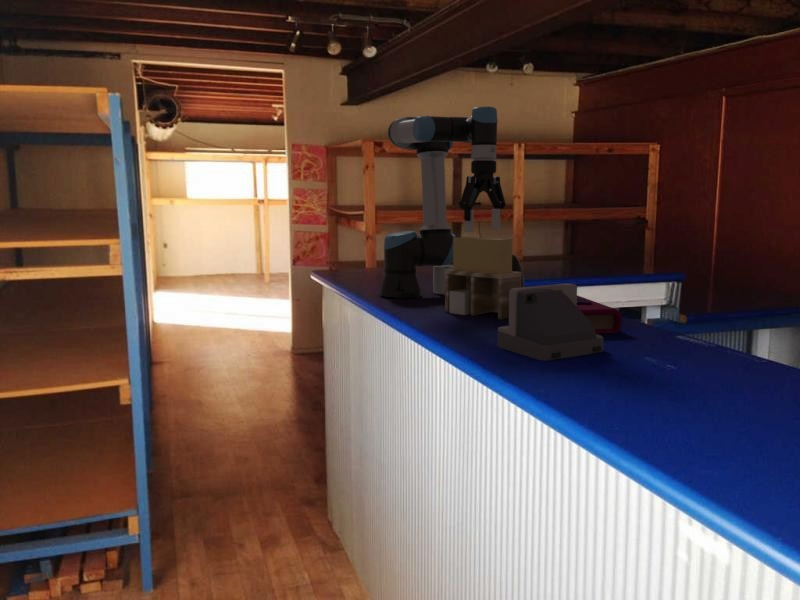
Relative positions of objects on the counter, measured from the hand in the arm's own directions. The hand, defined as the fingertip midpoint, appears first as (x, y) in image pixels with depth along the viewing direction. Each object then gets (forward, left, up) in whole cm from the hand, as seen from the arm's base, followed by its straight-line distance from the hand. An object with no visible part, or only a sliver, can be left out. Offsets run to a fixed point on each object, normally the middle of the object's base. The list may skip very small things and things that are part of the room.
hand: (482, 231), depth 210 cm
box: (-5, -2, -26) cm, 26 cm away
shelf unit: (0, -1, -26) cm, 26 cm away
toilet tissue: (-37, +28, -26) cm, 53 cm away
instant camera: (+42, -30, -26) cm, 58 cm away
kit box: (0, 0, -12) cm, 12 cm away
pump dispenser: (-15, +36, -26) cm, 47 cm away
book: (+29, -1, -26) cm, 39 cm away
